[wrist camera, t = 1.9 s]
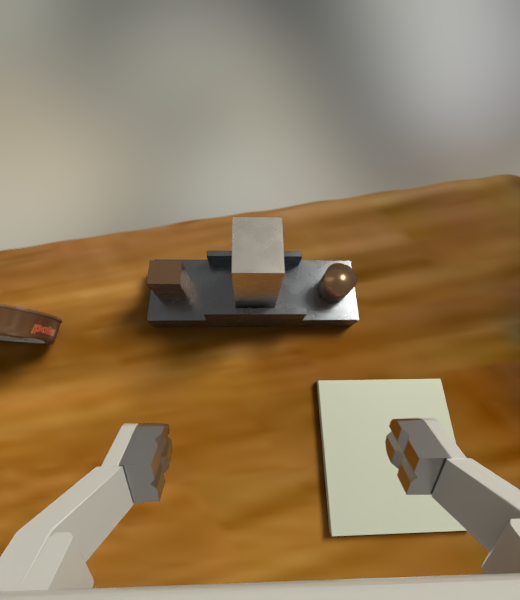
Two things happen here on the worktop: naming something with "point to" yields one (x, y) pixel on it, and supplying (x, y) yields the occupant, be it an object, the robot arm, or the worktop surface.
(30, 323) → the tin
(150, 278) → the hand plane
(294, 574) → the worktop surface
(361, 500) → the cutting board
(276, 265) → the grey rectangular block
